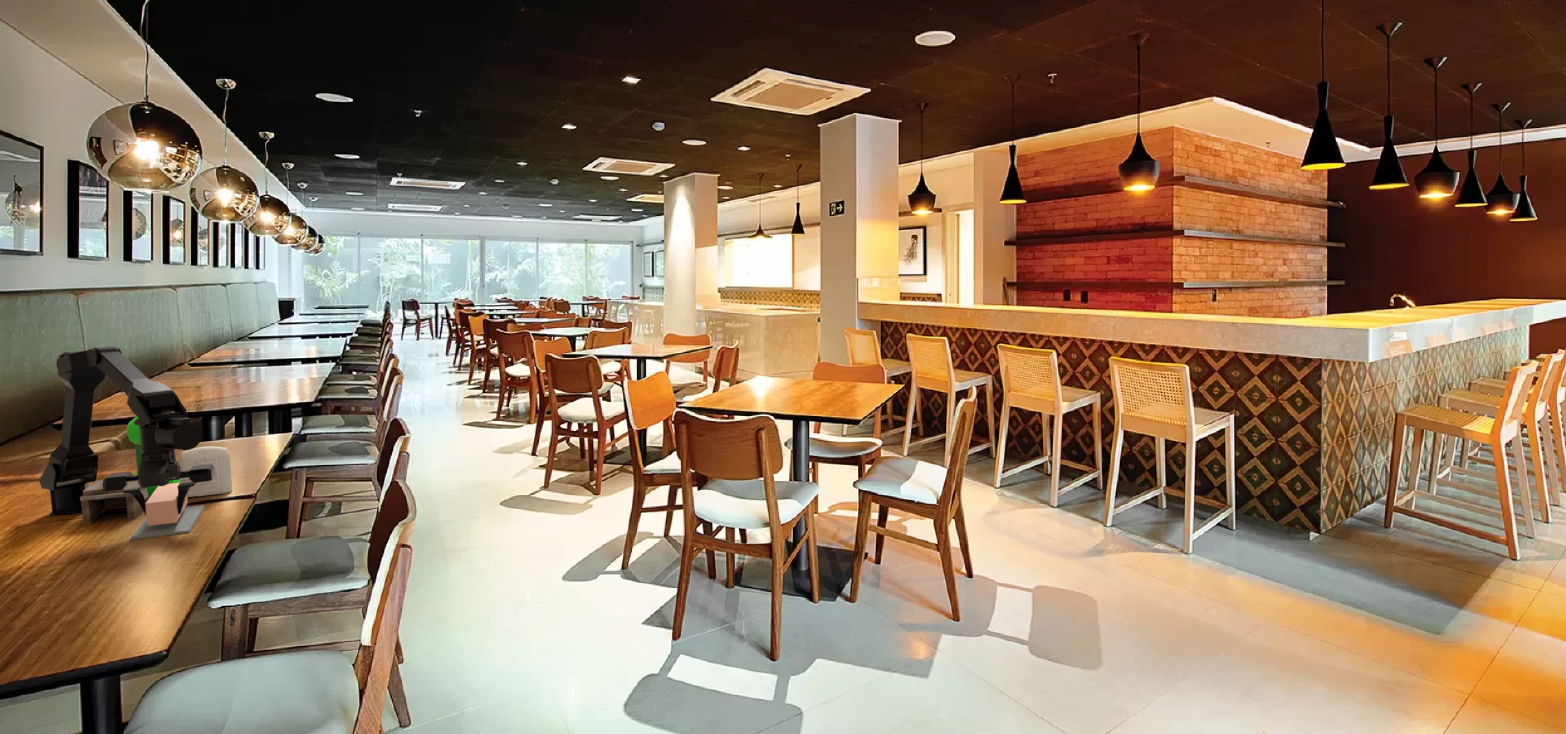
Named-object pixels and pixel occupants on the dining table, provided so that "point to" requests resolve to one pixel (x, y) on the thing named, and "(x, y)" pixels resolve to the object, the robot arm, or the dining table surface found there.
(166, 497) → the block
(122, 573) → the dining table surface
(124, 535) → the dining table surface
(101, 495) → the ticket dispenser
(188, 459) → the white arched slab
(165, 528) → the slate mat
